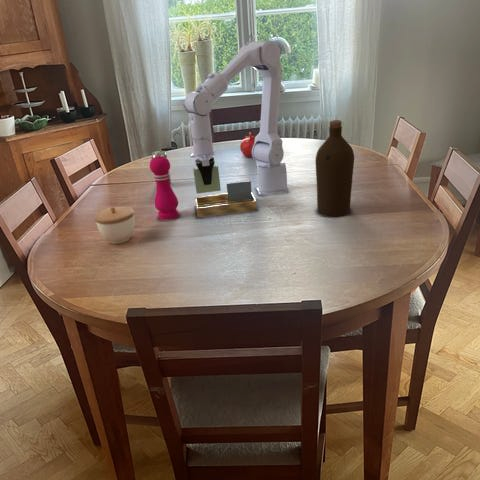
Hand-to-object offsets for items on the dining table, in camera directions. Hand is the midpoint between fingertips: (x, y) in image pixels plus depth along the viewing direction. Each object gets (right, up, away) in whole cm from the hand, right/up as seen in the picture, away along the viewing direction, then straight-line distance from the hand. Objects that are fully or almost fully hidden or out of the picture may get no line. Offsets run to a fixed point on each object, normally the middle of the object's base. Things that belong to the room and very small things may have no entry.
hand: (207, 183), depth 146 cm
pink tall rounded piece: (-18, +8, +31) cm, 36 cm away
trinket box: (-25, -18, -9) cm, 32 cm away
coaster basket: (+5, -7, +5) cm, 10 cm away
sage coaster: (0, -2, +1) cm, 2 cm away
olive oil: (+38, -10, -4) cm, 39 cm away
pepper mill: (-12, -10, +3) cm, 16 cm away
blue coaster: (+10, -6, +5) cm, 12 cm away
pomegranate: (+15, +28, +56) cm, 64 cm away
